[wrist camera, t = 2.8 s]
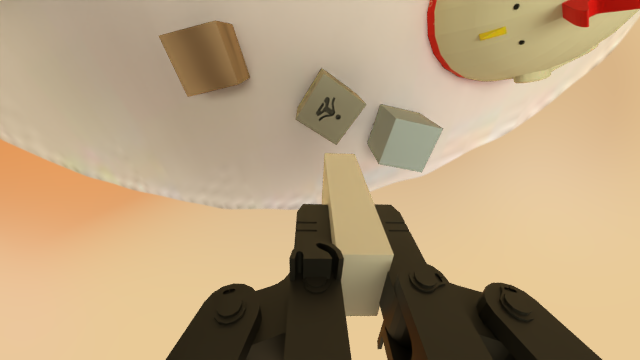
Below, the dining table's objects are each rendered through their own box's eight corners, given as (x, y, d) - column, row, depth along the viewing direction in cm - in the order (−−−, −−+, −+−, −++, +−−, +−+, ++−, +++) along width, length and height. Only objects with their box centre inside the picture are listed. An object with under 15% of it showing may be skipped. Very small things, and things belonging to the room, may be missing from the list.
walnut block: (207, 87, 27) (187, 96, 22) (185, 36, 24) (158, 35, 20) (250, 77, 26) (238, 84, 22) (232, 24, 24) (215, 20, 20)
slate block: (367, 143, 31) (378, 164, 26) (380, 104, 28) (396, 118, 23) (403, 150, 31) (421, 172, 26) (419, 113, 29) (443, 128, 24)
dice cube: (321, 68, 26) (324, 73, 22) (357, 94, 28) (366, 104, 23) (297, 107, 28) (295, 119, 24) (332, 129, 30) (336, 144, 25)
